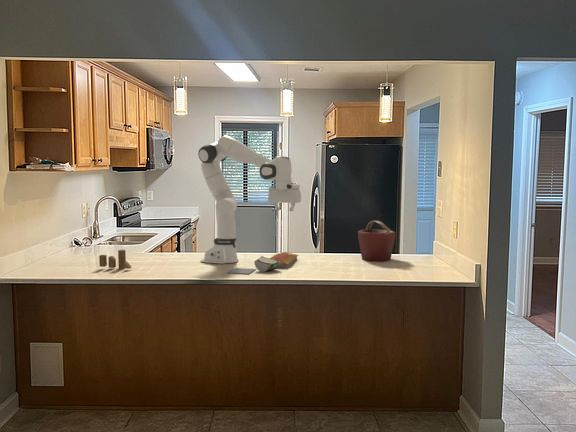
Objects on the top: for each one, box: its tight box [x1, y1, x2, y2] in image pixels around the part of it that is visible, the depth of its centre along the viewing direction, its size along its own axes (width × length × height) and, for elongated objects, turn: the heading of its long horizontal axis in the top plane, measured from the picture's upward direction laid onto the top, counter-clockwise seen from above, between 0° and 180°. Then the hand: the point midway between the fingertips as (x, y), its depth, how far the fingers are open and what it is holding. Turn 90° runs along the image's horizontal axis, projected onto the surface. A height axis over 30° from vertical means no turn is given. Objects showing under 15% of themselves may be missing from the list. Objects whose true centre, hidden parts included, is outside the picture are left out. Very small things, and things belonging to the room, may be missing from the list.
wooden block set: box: [98, 249, 132, 270], centre depth 304 cm, size 18×9×10 cm, turn 84°
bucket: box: [357, 220, 396, 263], centre depth 339 cm, size 24×22×25 cm
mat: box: [227, 267, 257, 276], centre depth 300 cm, size 12×14×1 cm
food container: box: [254, 255, 280, 273], centre depth 304 cm, size 12×6×10 cm
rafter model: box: [270, 251, 299, 269], centre depth 327 cm, size 35×14×6 cm, turn 169°
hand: (284, 211), depth 302 cm, fingers open, 8 cm apart
